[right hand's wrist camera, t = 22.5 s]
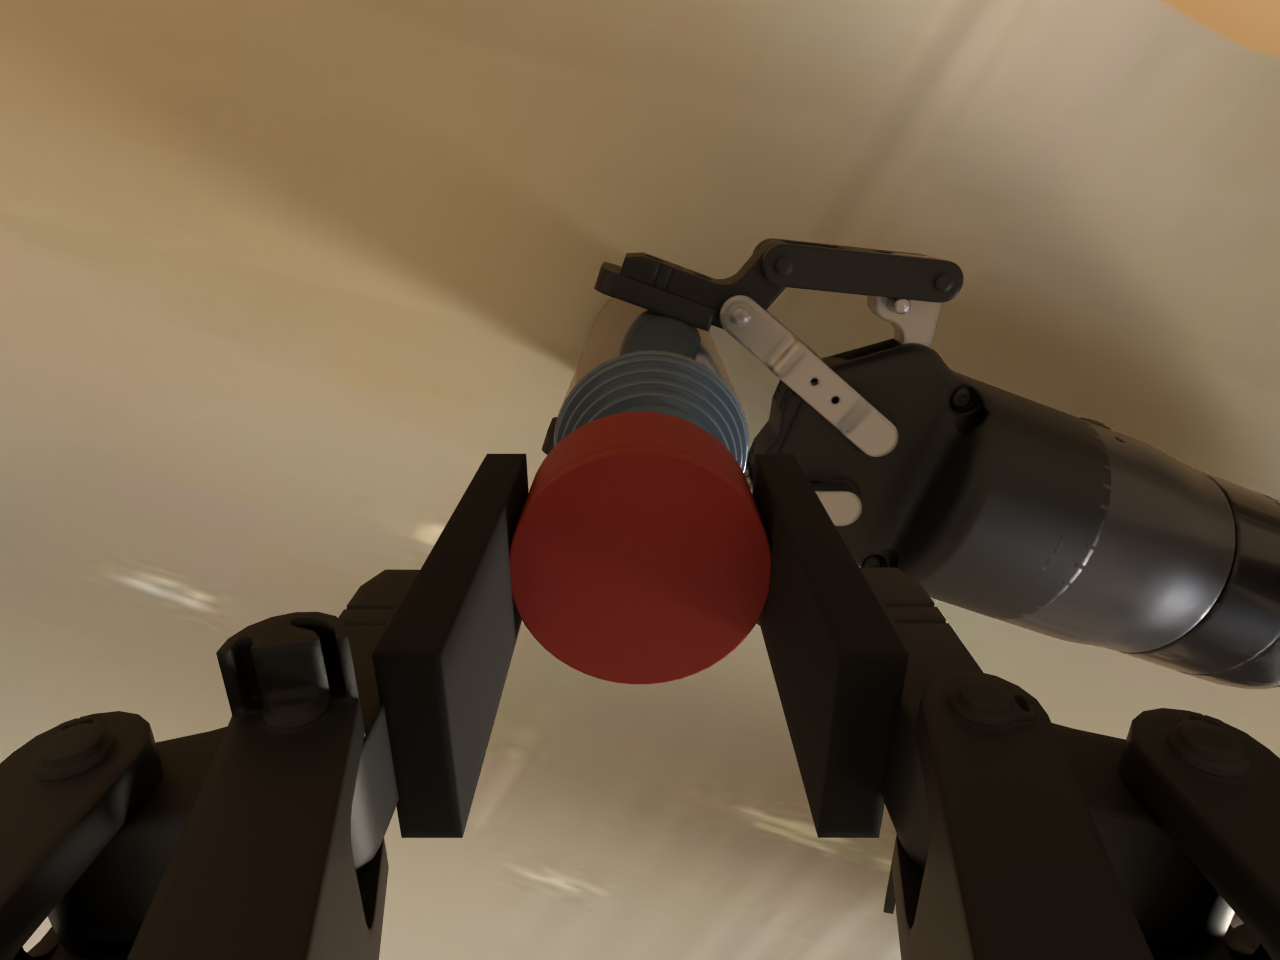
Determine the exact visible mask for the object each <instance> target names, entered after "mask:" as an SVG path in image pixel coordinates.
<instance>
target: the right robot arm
mask: <svg viewBox="0 0 1280 960" xmlns="http://www.w3.org/2000/svg"><path fill="white" fill-rule="evenodd" d="M752 495H753V498H754V501H755V503H756V506H757V509H758V512H759V514H760V517H761V520H762V523H763V525H764V528H765V531H766V534H767V536H768V540H769V545H770V549H771V571H770V584H769V594H768V599H767V601H766V604H765V606H764V609H763V612H762V613H761V615H760V617H759V623H760V626H761V630H762V634H763V637H764V641H765V645H766V648H767V652H768V656H769V659H770V663H771V667H772V670H773V674H774V678H775V681H776V685H777V689H778V692H779V696H780V700H781V703H782V707H783V711H784V714H785V718H786V722H787V725H788V729H789V733H790V736H791V740H792V744H793V747H794V751H795V755H796V758H797V762H798V765H799V769H800V773H801V776H802V780H803V784H804V787H805V791H806V795H807V798H808V802H809V806H810V809H811V813H812V817H813V820H814V824H815V828H816V831H817V835H818V838H879V834H880V828H881V822H882V815H883V809H884V803H885V805H886V807H887V810H888V812H889V815H890V817H891V820H892V822H893V825H894V827H895V830H896V832H897V836H896V841H895V847H894V853H893V859H892V864H891V870H890V876H889V881H888V887H887V893H886V899H885V905H884V912H886V913H891V914H893V912H894V907H895V903H896V913H897V922H898V931H899V941H900V950H901V959H902V960H1280V758H1279V757H1277V756H1276V755H1275V754H1274V753H1273V752H1272V751H1271V750H1269V749H1268V748H1266V747H1265V746H1264V745H1262V744H1261V743H1259V742H1258V741H1256V740H1255V739H1254V738H1252V737H1251V736H1249V735H1248V734H1247V733H1245V732H1243V731H1241V730H1238V729H1236V728H1234V727H1232V726H1230V725H1228V724H1226V723H1224V722H1222V721H1220V720H1218V719H1215V718H1213V717H1210V716H1207V715H1205V716H1204V715H1202V714H1199V713H1195V712H1191V711H1185V710H1176V709H1166V708H1160V709H1154V710H1148V711H1143V712H1142V713H1141V714H1139V715H1138V716H1137V717H1136V718H1135V719H1133V720H1132V723H1131V726H1130V730H1129V733H1128V736H1127V739H1126V740H1124V739H1119V738H1115V737H1110V736H1105V735H1100V734H1096V733H1091V732H1086V731H1081V730H1077V729H1072V728H1068V727H1065V726H1061V725H1057V724H1054V723H1051V721H1050V719H1049V717H1048V714H1047V713H1046V712H1045V710H1044V709H1043V708H1042V706H1041V705H1040V703H1039V702H1038V701H1037V699H1035V698H1034V697H1033V696H1031V695H1030V694H1028V693H1027V692H1026V691H1024V690H1023V689H1022V688H1020V687H1019V686H1017V685H1015V684H1013V683H1010V682H1008V681H1006V680H1004V679H1001V678H999V677H997V676H994V675H989V674H985V673H983V671H982V670H981V669H980V667H979V666H978V664H977V663H976V662H975V660H974V659H973V657H972V656H971V654H970V653H969V652H968V650H967V649H966V647H965V646H964V645H963V643H962V642H961V640H960V639H959V638H958V636H957V635H956V633H955V632H954V630H953V629H952V628H951V626H950V625H949V623H946V621H945V620H946V619H945V618H944V616H943V615H942V613H941V612H940V611H939V609H938V608H937V607H934V602H933V601H932V599H931V598H930V597H929V595H928V594H927V592H926V591H925V589H924V588H923V587H922V585H921V584H920V583H918V582H917V581H915V580H914V579H912V578H911V577H909V576H908V575H906V574H905V573H903V572H902V571H900V570H899V569H897V568H896V567H858V565H857V563H856V562H855V560H854V558H853V556H852V555H851V553H850V551H849V549H848V548H847V546H846V544H845V543H844V541H843V539H842V537H841V536H840V534H839V532H838V530H837V529H836V527H835V525H834V523H833V522H832V520H831V518H830V516H829V515H828V513H827V511H826V509H825V508H824V506H823V504H822V503H821V501H820V499H819V497H818V496H817V494H816V492H815V490H814V489H813V487H812V485H811V483H810V482H809V480H808V478H807V476H806V475H805V473H804V471H803V469H802V468H801V466H800V464H799V463H798V461H797V459H796V457H795V456H794V454H755V456H754V472H753V488H752ZM527 496H528V478H527V461H526V454H487V455H486V457H485V459H484V460H483V462H482V464H481V465H480V467H479V469H478V471H477V472H476V474H475V476H474V478H473V479H472V481H471V483H470V485H469V486H468V488H467V490H466V492H465V493H464V495H463V497H462V499H461V500H460V502H459V504H458V505H457V507H456V509H455V511H454V512H453V514H452V516H451V518H450V519H449V521H448V523H447V525H446V526H445V528H444V530H443V532H442V533H441V535H440V537H439V539H438V540H437V542H436V544H435V545H434V547H433V549H432V551H431V552H430V554H429V556H428V558H427V559H426V561H425V563H424V565H423V566H422V568H421V570H384V571H383V572H381V573H380V574H378V575H377V576H375V577H374V578H372V579H371V580H369V581H368V582H366V583H365V584H363V585H362V586H360V588H359V589H358V591H357V592H356V593H355V595H354V596H353V598H352V599H351V601H350V602H349V603H348V605H347V610H344V611H343V612H342V613H341V615H340V616H339V618H337V617H336V616H333V615H328V614H324V613H320V612H295V613H290V614H285V615H280V616H275V617H271V618H268V619H266V620H263V621H260V622H258V623H255V624H253V625H250V626H248V627H246V628H244V629H243V630H241V631H240V632H238V633H237V634H235V635H233V636H232V637H230V638H229V639H228V640H227V641H226V642H225V643H224V644H223V645H222V647H221V648H220V649H219V650H218V651H217V652H216V654H217V657H218V661H219V665H220V669H221V673H222V677H223V681H224V685H225V688H226V692H227V696H228V700H229V704H230V708H231V712H232V718H231V720H230V722H229V725H228V727H224V728H220V729H217V730H213V731H209V732H205V733H200V734H195V735H190V736H186V737H181V738H176V739H171V740H167V741H162V742H157V743H155V740H154V737H153V733H152V730H151V727H150V724H149V723H148V722H147V721H146V720H145V719H143V718H142V717H141V716H140V715H139V714H133V713H127V712H121V711H116V712H107V713H98V714H92V715H88V716H83V717H80V718H78V719H77V718H76V719H73V720H70V721H67V722H64V723H62V724H60V725H59V726H57V727H54V728H52V729H50V730H48V731H46V732H44V733H42V734H40V735H38V736H36V737H34V738H33V739H32V740H30V741H29V742H27V743H26V744H25V745H23V746H22V747H20V748H19V749H18V750H16V751H15V752H13V753H12V754H11V755H10V756H9V757H7V758H6V759H5V760H4V761H3V762H2V763H1V764H0V960H379V952H380V942H381V933H382V924H383V914H384V905H385V895H386V886H387V877H388V860H387V853H386V847H385V842H384V835H385V833H386V830H387V828H388V825H389V823H390V820H391V818H392V815H393V813H394V810H395V807H396V805H397V811H398V818H399V824H400V830H401V836H402V838H462V837H463V834H464V830H465V826H466V823H467V819H468V815H469V812H470V808H471V804H472V801H473V797H474V793H475V790H476V786H477V783H478V779H479V775H480V772H481V768H482V764H483V761H484V757H485V753H486V750H487V746H488V742H489V739H490V735H491V731H492V728H493V724H494V720H495V717H496V713H497V709H498V706H499V702H500V698H501V695H502V691H503V687H504V684H505V680H506V676H507V673H508V669H509V665H510V662H511V658H512V654H513V651H514V647H515V643H516V640H517V636H518V632H519V629H520V625H521V621H522V618H521V616H520V615H519V613H518V611H517V608H516V605H515V603H514V600H513V597H512V588H511V575H510V560H509V551H510V546H511V542H512V537H513V535H514V532H515V529H516V526H517V524H518V521H519V518H520V515H521V513H522V510H523V507H524V505H525V502H526V499H527ZM1234 913H1236V915H1237V916H1238V917H1239V918H1240V919H1241V921H1242V922H1243V923H1244V924H1245V925H1246V927H1247V928H1248V929H1249V930H1250V931H1251V933H1252V934H1253V935H1254V936H1255V937H1256V939H1257V940H1258V941H1259V942H1260V945H1259V947H1258V948H1257V949H1256V950H1254V949H1252V948H1251V947H1250V946H1249V945H1248V944H1247V943H1246V942H1245V941H1244V940H1243V939H1242V938H1241V937H1240V936H1239V934H1238V933H1237V932H1236V931H1235V930H1234V928H1233V927H1232V926H1231V925H1230V922H1231V920H1232V917H1233V915H1234ZM47 916H48V918H49V920H50V922H51V925H52V927H51V929H50V930H49V931H48V932H47V933H46V935H45V936H44V937H43V938H42V940H41V941H40V942H39V943H38V944H36V945H35V946H34V947H33V948H32V949H31V950H30V951H29V952H28V953H27V952H25V951H24V949H23V947H22V946H23V945H24V944H25V943H26V941H27V940H28V939H29V938H30V937H31V935H32V934H33V933H34V932H35V931H36V929H37V928H38V927H39V926H40V925H41V923H42V922H43V921H44V920H45V919H46V917H47Z"/></svg>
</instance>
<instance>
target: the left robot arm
mask: <svg viewBox="0 0 1280 960" xmlns="http://www.w3.org/2000/svg"><path fill="white" fill-rule="evenodd" d="M962 284H963V273H962V271H961V269H960V267H959V266H958V265H956V264H955V263H953V262H950V261H946V260H942V259H938V258H934V257H930V256H926V255H922V254H914V253H905V252H895V251H886V250H877V249H867V248H858V247H848V246H839V245H830V244H820V243H811V242H801V241H792V240H782V239H766V240H764V241H762V242H760V243H759V244H758V245H757V246H756V248H755V249H754V252H753V255H752V256H751V257H750V258H749V260H748V261H747V262H746V263H745V264H744V265H743V267H742V268H741V269H740V270H739V271H738V272H737V273H736V274H735V275H733V276H731V277H729V278H726V279H714V278H711V277H708V276H705V275H703V274H700V273H697V272H695V271H692V270H689V269H686V268H684V267H681V266H678V265H676V264H673V263H670V262H668V261H665V260H662V259H659V258H657V257H654V256H652V255H649V254H646V253H627V254H626V257H625V260H624V263H623V266H622V267H620V266H617V265H614V264H611V263H607V262H603V264H602V266H601V269H600V272H599V275H598V278H597V281H596V284H595V287H594V289H596V290H597V291H599V292H601V293H603V294H606V295H608V296H611V297H614V298H616V299H619V300H622V301H625V302H627V303H630V304H633V305H636V306H638V307H641V308H644V309H647V310H649V311H652V312H655V313H658V314H660V315H663V316H666V317H670V318H673V319H676V320H679V321H682V322H684V323H686V324H688V325H691V326H694V327H696V328H699V329H702V330H705V331H707V332H708V331H709V329H710V326H711V325H714V326H716V327H719V328H722V329H725V330H726V331H727V332H728V333H729V334H730V335H731V336H732V337H734V338H735V339H736V340H737V341H738V342H739V343H741V344H742V345H743V346H744V347H745V348H746V349H748V350H749V351H750V352H751V353H752V354H753V355H755V356H756V357H757V358H758V359H759V360H760V361H762V362H763V363H764V364H765V365H766V366H767V367H768V368H769V369H770V370H771V371H772V372H773V373H774V374H775V375H776V376H777V377H778V378H779V379H780V381H779V384H778V386H777V388H776V391H775V393H774V395H773V398H772V405H771V411H770V418H769V420H768V422H767V423H766V424H765V426H764V427H763V428H762V430H761V431H760V432H759V433H758V435H757V436H756V437H755V439H754V441H753V443H752V446H751V448H750V450H749V452H748V458H747V463H746V468H745V471H746V470H748V471H746V472H744V474H745V477H746V479H747V482H748V484H749V487H750V490H751V493H752V488H753V472H754V456H755V454H794V456H795V457H796V459H797V461H798V463H799V464H800V466H801V468H802V469H803V471H804V473H805V475H806V476H807V478H808V480H809V482H810V483H811V485H812V487H813V489H814V490H815V492H816V494H817V496H818V497H819V499H820V501H821V503H822V504H823V506H824V508H825V509H826V511H827V513H828V515H829V516H830V518H831V520H832V522H833V523H834V525H835V527H836V529H837V530H838V532H839V534H840V536H841V537H842V539H843V541H844V543H845V544H846V546H847V548H848V549H849V551H850V553H851V555H852V556H853V558H854V560H855V562H856V563H857V565H858V567H896V568H897V569H899V570H900V571H902V572H903V573H905V574H906V575H908V576H909V577H911V578H912V579H914V580H915V581H917V582H918V583H920V584H921V585H922V587H923V588H924V589H925V591H926V592H927V594H928V595H929V597H931V598H934V599H937V600H940V601H943V602H946V603H949V604H953V605H956V606H959V607H962V608H965V609H968V610H971V611H974V612H977V613H980V614H983V615H986V616H989V617H992V618H995V619H998V620H1002V621H1005V622H1008V623H1011V624H1014V625H1017V626H1020V627H1023V628H1026V629H1029V630H1032V631H1035V632H1038V633H1041V634H1044V635H1047V636H1051V637H1054V638H1058V639H1061V640H1065V641H1070V642H1075V643H1081V644H1088V645H1094V646H1099V647H1104V648H1108V649H1112V650H1115V651H1118V652H1121V653H1124V654H1127V655H1130V656H1133V657H1136V658H1139V659H1142V660H1145V661H1148V662H1151V663H1154V664H1157V665H1160V666H1163V667H1166V668H1170V669H1173V670H1176V671H1179V672H1182V673H1185V674H1188V675H1191V676H1194V677H1197V678H1200V679H1203V680H1207V681H1210V682H1214V683H1217V684H1221V685H1226V686H1232V687H1238V688H1245V689H1268V688H1274V687H1280V500H1277V499H1273V498H1271V497H1268V496H1266V495H1263V494H1260V493H1258V492H1255V491H1253V490H1250V489H1247V488H1245V487H1242V486H1239V485H1237V484H1234V483H1231V482H1229V481H1226V480H1223V479H1220V478H1218V477H1215V476H1212V475H1210V474H1207V473H1204V472H1201V471H1199V470H1196V469H1194V468H1191V467H1189V466H1187V465H1185V464H1183V463H1181V462H1179V461H1177V460H1175V459H1174V458H1172V457H1170V456H1168V455H1167V454H1165V453H1163V452H1161V451H1160V450H1158V449H1156V448H1154V447H1152V446H1150V445H1148V444H1146V443H1143V442H1141V441H1139V440H1136V439H1134V438H1131V437H1128V436H1125V435H1123V434H1120V433H1118V432H1115V431H1112V430H1111V429H1110V428H1109V427H1107V426H1105V425H1104V424H1102V423H1100V422H1097V421H1094V420H1091V419H1086V418H1077V417H1075V416H1072V415H1069V414H1067V413H1064V412H1061V411H1058V410H1056V409H1053V408H1050V407H1048V406H1045V405H1042V404H1039V403H1037V402H1034V401H1031V400H1029V399H1026V398H1023V397H1021V396H1018V395H1015V394H1012V393H1010V392H1007V391H1004V390H1002V389H999V388H996V387H994V386H991V385H988V384H986V383H983V382H980V381H977V380H975V379H972V378H969V377H967V376H964V375H961V374H959V373H956V372H954V371H952V370H951V369H950V368H949V367H948V366H947V365H946V364H945V363H944V361H943V360H942V358H941V357H940V356H939V354H938V353H937V352H935V351H934V350H933V349H931V346H932V342H933V338H934V334H935V330H936V326H937V322H938V318H939V314H940V310H941V306H942V303H943V302H947V301H949V300H951V299H952V298H954V297H955V296H956V295H957V294H958V293H959V291H960V289H961V287H962ZM786 287H792V288H801V289H811V290H820V291H830V292H840V293H849V294H859V295H868V298H867V303H868V307H869V309H870V311H871V312H872V313H873V314H875V315H876V316H878V317H880V318H882V319H883V320H886V321H889V322H891V324H892V325H893V327H894V331H895V336H894V338H893V339H890V340H886V341H883V342H879V343H876V344H872V345H868V346H865V347H861V348H858V349H854V350H851V351H847V352H843V353H840V354H836V355H833V356H829V357H825V358H821V357H819V356H818V355H817V354H816V353H815V352H814V351H813V350H812V349H810V348H809V347H808V346H807V345H806V344H805V343H804V342H803V341H801V340H800V339H799V338H798V337H797V336H796V335H795V334H793V333H792V332H791V331H790V330H789V329H788V328H787V327H786V326H784V325H783V324H782V323H781V322H780V321H778V320H777V319H776V318H775V317H774V316H773V315H772V314H770V313H769V312H768V311H767V310H766V309H767V308H768V307H769V306H770V305H771V304H772V303H773V301H774V300H775V299H776V298H777V297H778V296H779V295H780V293H781V292H782V291H783V290H784V289H785V288H786ZM557 418H558V417H555V418H553V419H552V421H551V423H550V426H549V428H548V431H547V434H546V437H545V440H544V444H543V447H542V450H543V452H544V453H545V454H547V455H548V454H549V453H550V452H551V450H552V449H553V448H554V432H555V426H556V421H557ZM756 624H758V625H760V623H759V619H758V621H757V623H756ZM1230 925H1231V926H1232V927H1233V928H1234V930H1235V931H1236V932H1237V933H1238V934H1239V936H1240V937H1241V938H1242V939H1243V940H1244V941H1245V942H1246V943H1247V944H1248V945H1249V946H1250V947H1251V948H1252V949H1254V950H1256V949H1257V948H1258V947H1259V945H1260V942H1259V941H1258V940H1257V939H1256V937H1255V936H1254V935H1253V934H1252V933H1251V931H1250V930H1249V929H1248V928H1247V927H1246V925H1245V924H1244V923H1243V922H1242V921H1241V919H1240V918H1239V917H1238V916H1237V915H1236V913H1234V915H1233V917H1232V920H1231V922H1230Z"/></svg>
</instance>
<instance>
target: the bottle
mask: <svg viewBox="0 0 1280 960" xmlns="http://www.w3.org/2000/svg"><path fill="white" fill-rule="evenodd" d="M626 412H654V413H662V414H667V415H671V416H674V417H678V418H681V419H683V420H686V421H688V422H691V423H693V424H695V425H697V426H699V427H700V428H702V429H704V430H706V431H707V432H709V433H710V434H711V435H713V436H714V437H715V438H717V439H718V440H719V441H720V442H721V443H722V444H723V445H724V446H725V447H726V448H727V449H728V450H729V451H730V452H731V454H732V455H733V456H734V458H735V459H736V460H737V462H738V463H739V465H740V467H741V469H742V471H743V472H744V471H745V468H746V463H747V458H748V450H749V434H748V428H747V422H746V419H745V415H744V412H743V410H742V407H741V405H740V403H739V400H738V398H737V396H736V393H735V391H734V388H733V386H732V384H731V381H730V379H729V377H728V374H727V372H726V370H725V367H724V365H723V363H722V360H721V358H720V356H719V353H718V351H717V348H716V346H715V344H714V341H713V339H712V337H711V334H710V332H709V331H708V332H707V331H705V330H702V329H699V328H696V327H694V326H691V325H688V324H686V323H684V322H682V321H679V320H676V319H673V318H670V317H666V316H663V315H660V314H658V313H655V312H652V311H649V310H647V309H644V308H641V307H638V306H636V305H633V304H630V303H627V302H625V301H622V300H619V299H616V298H614V297H613V298H612V299H611V300H610V301H609V302H608V303H607V304H606V305H605V306H604V307H603V308H602V310H601V311H600V313H599V314H598V316H597V318H596V320H595V322H594V325H593V327H592V330H591V332H590V335H589V338H588V340H587V343H586V345H585V348H584V350H583V353H582V355H581V358H580V361H579V363H578V366H577V368H576V371H575V373H574V376H573V378H572V381H571V384H570V386H569V389H568V391H567V394H566V396H565V399H564V401H563V404H562V407H561V409H560V412H559V415H558V418H557V421H556V426H555V432H554V447H555V446H556V445H557V444H558V443H559V442H560V441H561V440H563V439H564V438H565V437H566V436H568V435H569V434H570V433H572V432H573V431H575V430H576V429H578V428H580V427H582V426H583V425H585V424H587V423H589V422H592V421H594V420H597V419H599V418H602V417H606V416H610V415H614V414H618V413H626Z"/></svg>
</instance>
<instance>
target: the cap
mask: <svg viewBox="0 0 1280 960" xmlns="http://www.w3.org/2000/svg"><path fill="white" fill-rule="evenodd" d="M509 560H510V575H511V588H512V597H513V600H514V603H515V605H516V608H517V611H518V613H519V615H520V616H521V618H522V620H523V622H524V624H525V625H526V627H527V628H528V630H529V631H530V632H531V634H532V635H533V636H534V638H535V639H536V640H537V641H538V642H539V643H540V644H541V645H542V646H543V647H544V648H545V649H546V650H547V651H549V652H550V653H551V654H552V655H554V656H555V657H556V658H557V659H559V660H560V661H562V662H564V663H565V664H567V665H568V666H570V667H572V668H574V669H576V670H578V671H580V672H582V673H585V674H587V675H590V676H593V677H596V678H599V679H603V680H607V681H612V682H617V683H626V684H654V683H664V682H669V681H673V680H678V679H681V678H684V677H687V676H690V675H693V674H696V673H698V672H700V671H702V670H704V669H706V668H709V667H710V666H712V665H714V664H715V663H717V662H718V661H720V660H722V659H723V658H724V657H726V656H727V655H728V654H729V653H731V652H732V651H733V650H734V649H735V648H736V647H737V646H738V645H739V644H740V643H741V642H742V641H743V640H744V639H745V638H746V637H747V635H748V634H749V633H750V631H751V630H752V629H753V627H754V626H755V624H756V623H757V621H758V619H759V617H760V615H761V613H762V612H763V609H764V606H765V604H766V601H767V599H768V594H769V584H770V571H771V549H770V545H769V540H768V536H767V534H766V531H765V528H764V525H763V523H762V520H761V517H760V514H759V512H758V509H757V506H756V503H755V501H754V498H753V495H752V493H751V490H750V487H749V484H748V482H747V479H746V477H745V474H744V472H743V471H742V469H741V467H740V465H739V463H738V462H737V460H736V459H735V458H734V456H733V455H732V454H731V452H730V451H729V450H728V449H727V448H726V447H725V446H724V445H723V444H722V443H721V442H720V441H719V440H718V439H717V438H715V437H714V436H713V435H711V434H710V433H709V432H707V431H706V430H704V429H702V428H700V427H699V426H697V425H695V424H693V423H691V422H688V421H686V420H683V419H681V418H678V417H674V416H671V415H667V414H662V413H654V412H626V413H618V414H614V415H610V416H606V417H602V418H599V419H597V420H594V421H592V422H589V423H587V424H585V425H583V426H582V427H580V428H578V429H576V430H575V431H573V432H572V433H570V434H569V435H568V436H566V437H565V438H564V439H563V440H561V441H560V442H559V443H558V444H557V445H556V446H555V447H554V448H553V449H552V450H551V452H550V453H549V454H548V456H547V457H546V458H545V460H544V461H543V462H542V464H541V466H540V468H539V469H538V471H537V473H536V475H535V478H534V480H533V483H532V486H531V488H530V491H529V494H528V496H527V499H526V502H525V505H524V507H523V510H522V513H521V515H520V518H519V521H518V524H517V526H516V529H515V532H514V535H513V537H512V542H511V546H510V551H509Z"/></svg>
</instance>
